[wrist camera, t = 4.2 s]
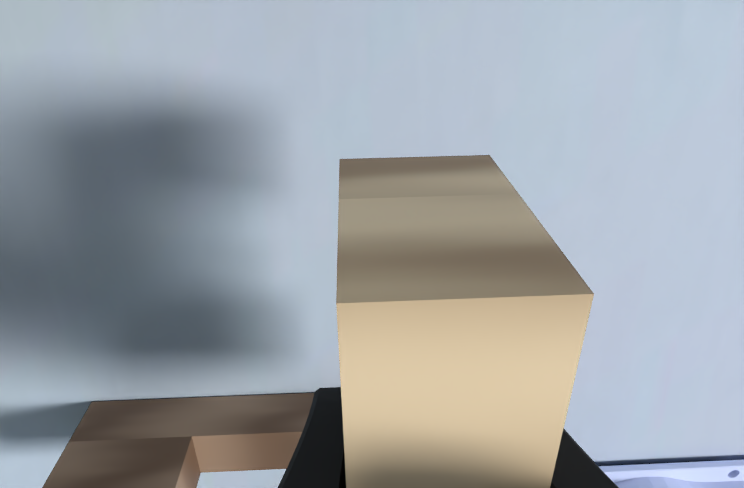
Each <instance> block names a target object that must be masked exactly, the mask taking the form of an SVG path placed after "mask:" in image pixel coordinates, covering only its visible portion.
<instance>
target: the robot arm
mask: <svg viewBox="0 0 744 488" xmlns="http://www.w3.org/2000/svg"><path fill="white" fill-rule="evenodd" d="M278 488H346V473H345V455H344V436H343V417H342V398H341V387H336V388H319V389H318V390H317V391H316V392H314V396H313V401H312V405H311V408H310V411H309V415H308V418H307V421H306V423H305V426H304V429H303V431H302V434H301V437H300V439H299V442H298V444H297V446H296V449H295V451H294V453H293V456H292V458H291V460H290V462H289V465H288V467H287V469H286V471H285V474H284V476H283V478H282V480H281V482H280V484H279V486H278ZM550 488H744V460H724V461H702V462H680V463H659V464H637V465H616V466H597V464H596V463H595V462H594V461H593V460H592V459H591V458H590V457H589V456H588V455H587V454H586V453H585V452H584V450H583V449H582V448H581V447H580V446H579V445H578V444H577V443H576V442H575V441H574V440H573V438H572V437H571V436H570V435H569V434H568V433H567V432H566V431H565V429H564V428H563V433H562V437H561V441H560V446H559V450H558V455H557V459H556V463H555V468H554V472H553V477H552V481H551V486H550Z"/></svg>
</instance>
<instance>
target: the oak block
mask: <svg viewBox="0 0 744 488" xmlns="http://www.w3.org/2000/svg"><path fill="white" fill-rule="evenodd" d="M593 296H594V293H593V292H592V291H591V290H590V288H589V287H588V286H587V284H586V283H585V282H584V280H583V279H582V278H581V276H580V275H579V274H578V272H577V271H576V270H575V268H574V267H573V266H572V264H571V263H570V262H569V260H568V259H567V258H566V256H565V255H564V254H563V252H562V251H561V250H560V248H559V247H558V246H557V244H556V243H555V242H554V240H553V239H552V238H551V236H550V235H549V234H548V232H547V231H546V230H545V228H544V227H543V226H542V224H541V223H540V222H539V220H538V219H537V218H536V216H535V215H534V214H533V212H532V211H531V210H530V208H529V207H528V206H527V204H526V203H525V202H524V200H523V199H522V198H521V196H520V195H519V194H518V192H517V191H516V190H515V189H514V187H513V186H512V185H511V183H510V182H509V181H508V179H507V178H506V177H505V175H504V174H503V173H502V171H501V170H500V169H499V167H498V166H497V165H496V163H495V162H494V161H493V159H492V158H491V157H490V155H475V156H438V157H400V158H363V159H340V168H339V212H338V256H337V300H336V305H337V324H338V342H339V361H340V380H341V398H342V417H343V436H344V455H345V473H346V488H550V486H551V481H552V477H553V472H554V468H555V463H556V459H557V455H558V450H559V446H560V441H561V437H562V433H563V428H564V424H565V419H566V415H567V410H568V406H569V402H570V397H571V393H572V388H573V384H574V380H575V375H576V371H577V366H578V362H579V357H580V353H581V349H582V344H583V340H584V335H585V331H586V326H587V322H588V318H589V313H590V309H591V304H592V300H593Z"/></svg>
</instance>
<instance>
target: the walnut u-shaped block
mask: <svg viewBox="0 0 744 488" xmlns="http://www.w3.org/2000/svg"><path fill="white" fill-rule="evenodd" d="M313 396H314V393H297V394H272V395H247V396H222V397H198V398H173V399H148V400H123V401H99V402H91V404H90V406H89V407H88V409H87V411H86V413H85V414H84V416H83V418H82V419H81V421H80V423H79V425H78V426H77V428H76V430H75V432H74V433H73V435H72V437H71V439H70V440H69V442H68V444H67V446H66V447H65V449H64V451H63V453H62V454H61V456H60V458H59V460H58V461H57V463H56V465H55V467H54V468H53V470H52V472H51V473H50V475H49V477H48V479H47V480H46V482H45V484H44V486H43V487H42V488H196V487H197V483H198V480H199V476H200V473H201V472H223V471H244V470H266V469H287V467H288V465H289V462H290V460H291V458H292V456H293V453H294V451H295V449H296V446H297V444H298V442H299V439H300V437H301V434H302V431H303V429H304V426H305V423H306V421H307V418H308V415H309V411H310V408H311V405H312V401H313Z"/></svg>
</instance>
